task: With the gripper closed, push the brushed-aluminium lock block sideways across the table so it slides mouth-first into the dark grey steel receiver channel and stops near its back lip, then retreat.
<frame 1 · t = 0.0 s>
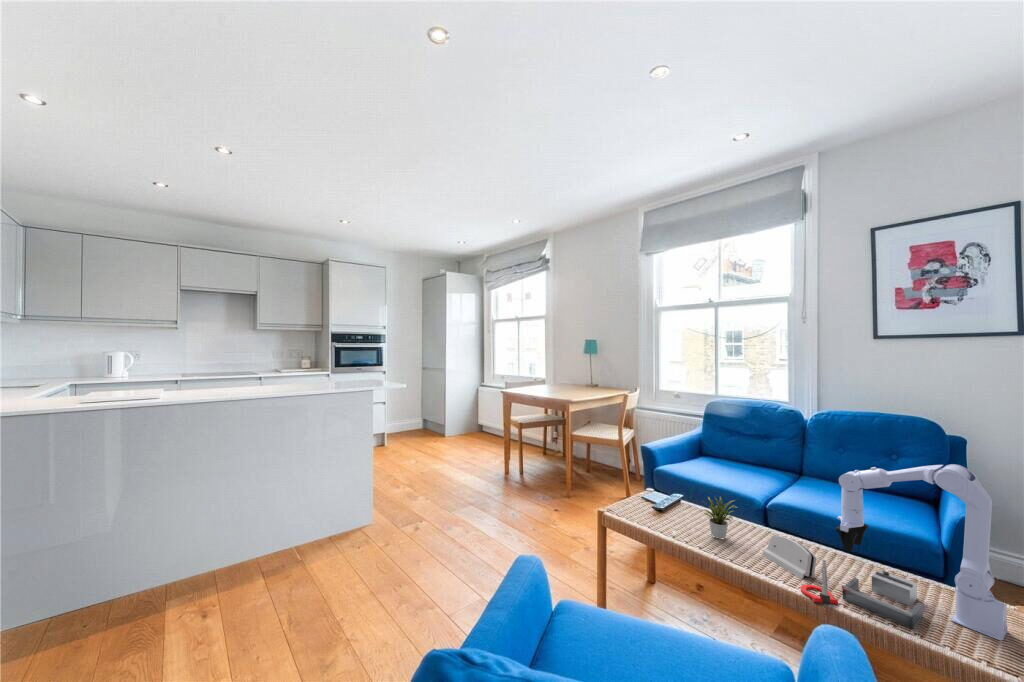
hand: (852, 547, 139), 10 cm above the table, fingers open, 7 cm apart
house plant: (722, 537, 167), on the table
receiver channel: (881, 607, 123), on the table
lock block: (894, 595, 129), on the table
red handled scissors: (817, 596, 129), on the table
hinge: (789, 566, 146), on the table
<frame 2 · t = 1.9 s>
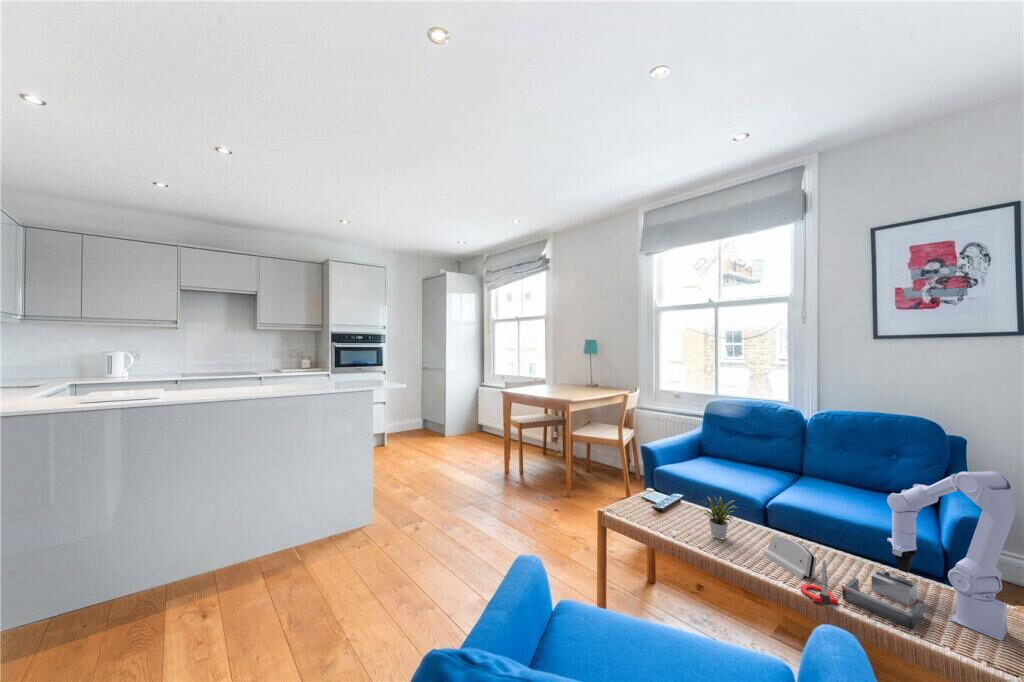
hand: (903, 570, 135), 4 cm above the table, fingers closed
nothing on the table moved.
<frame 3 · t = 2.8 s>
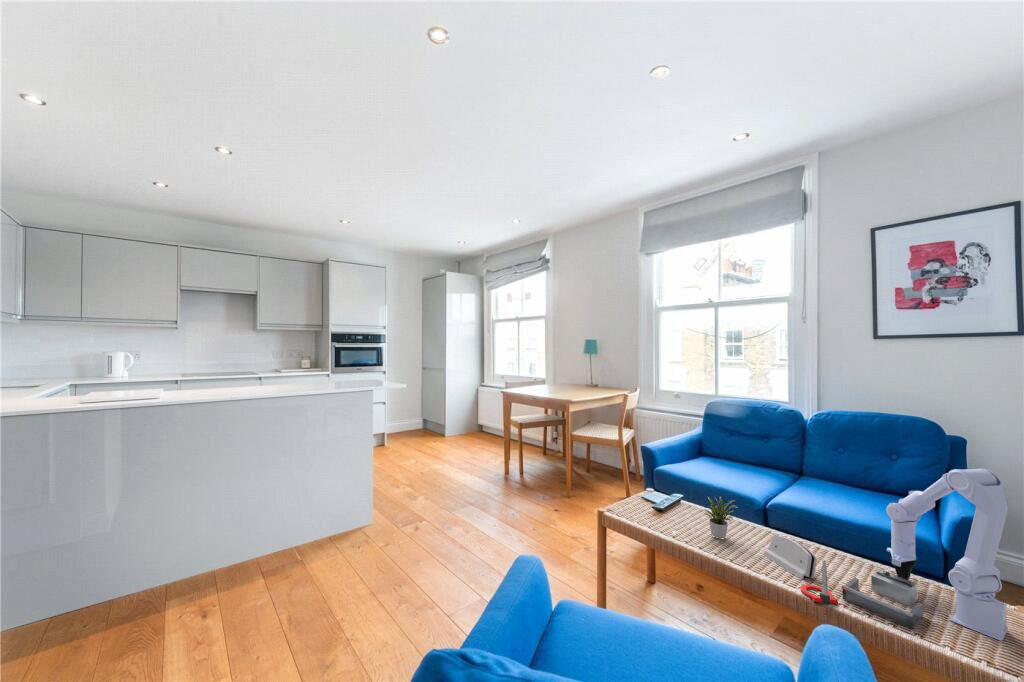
hand: (903, 581, 134), 1 cm above the table, fingers closed
nothing on the table moved.
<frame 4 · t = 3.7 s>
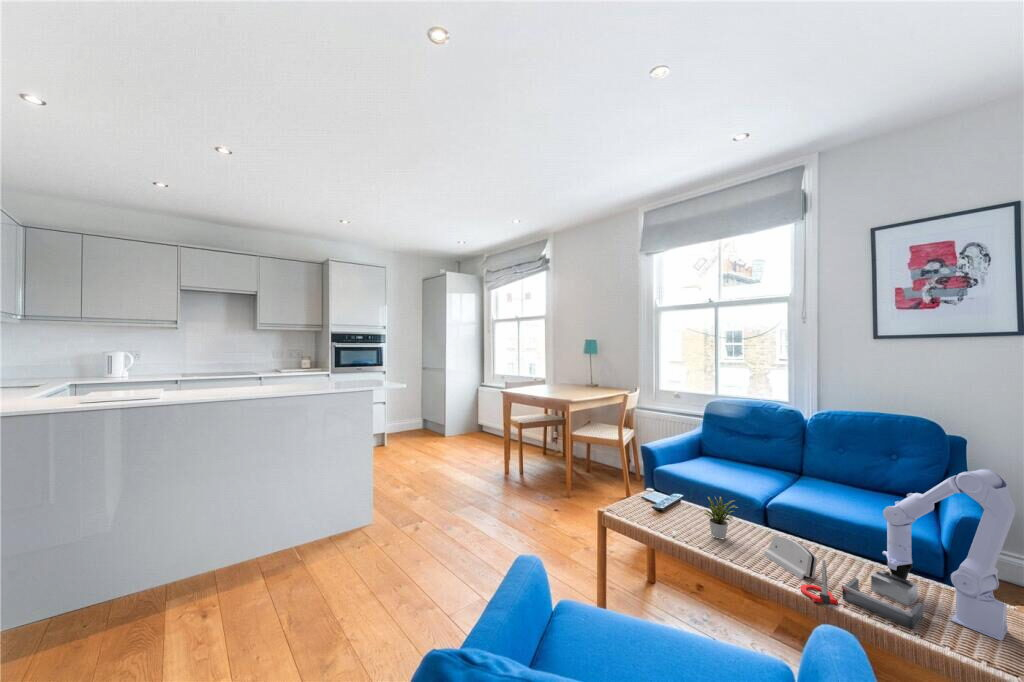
hand: (899, 584, 132), 1 cm above the table, fingers closed
lock block: (894, 595, 129), on the table, touching gripper
everything else where it was.
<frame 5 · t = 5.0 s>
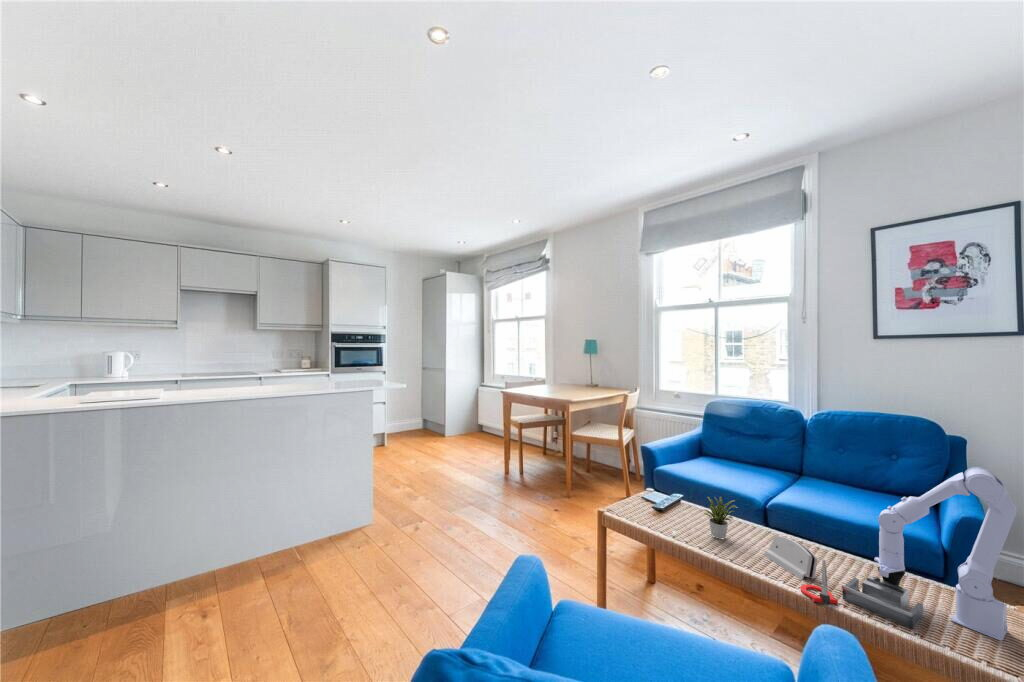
hand: (891, 592, 128), 1 cm above the table, fingers closed
lock block: (884, 602, 125), on the table, touching gripper
everything else where it was.
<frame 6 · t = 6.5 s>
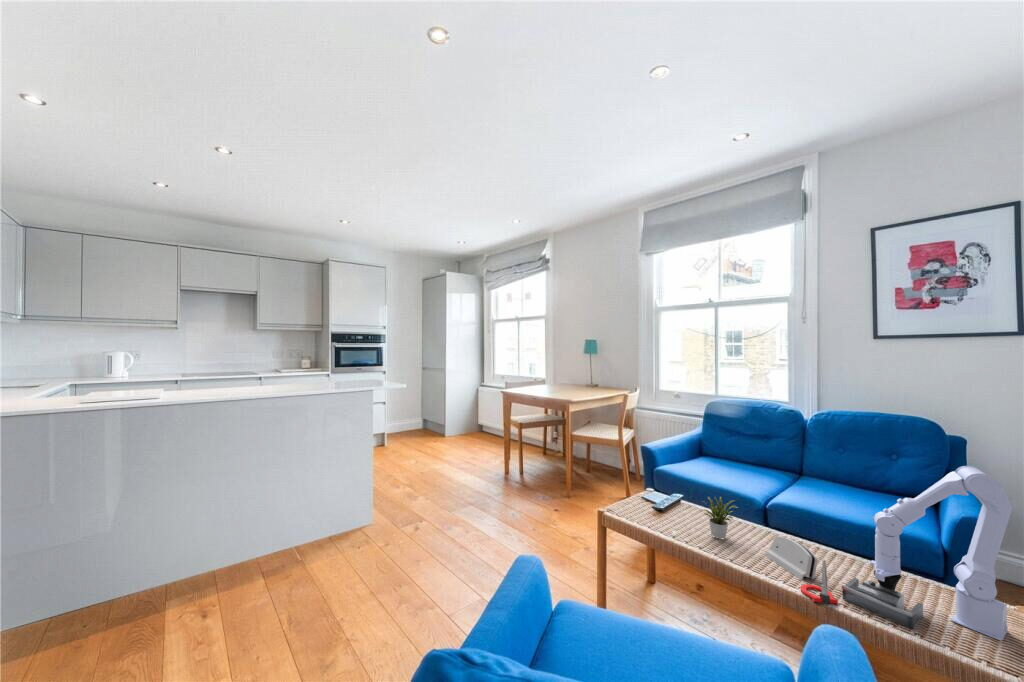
hand: (887, 596, 126), 1 cm above the table, fingers closed
lock block: (880, 607, 123), on the table
everything else where it was.
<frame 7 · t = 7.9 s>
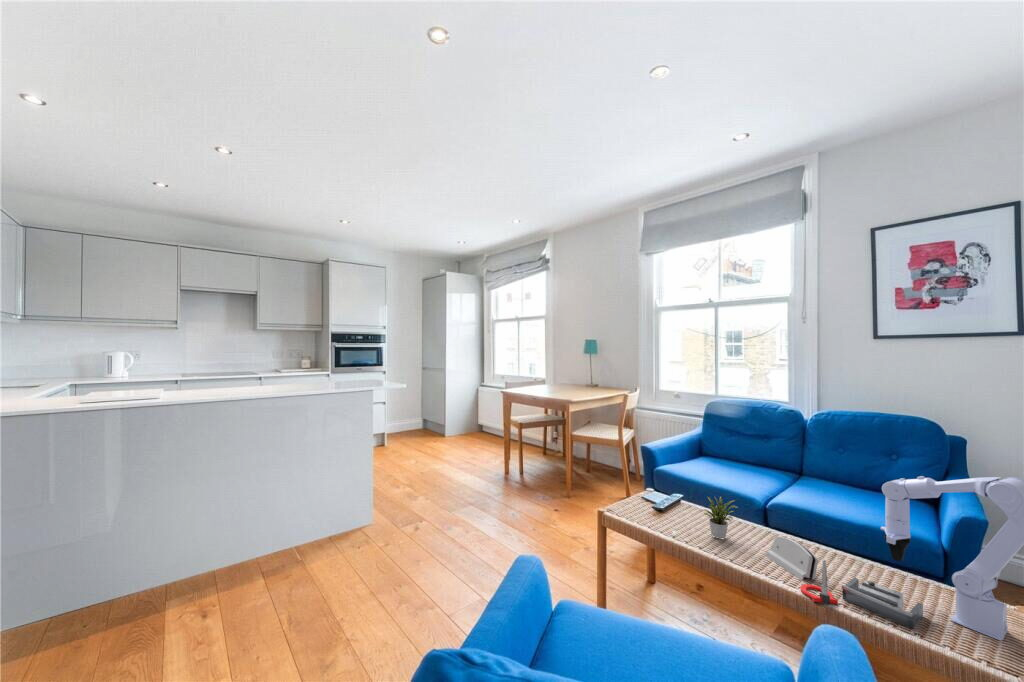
hand: (897, 559, 131), 10 cm above the table, fingers closed
nothing on the table moved.
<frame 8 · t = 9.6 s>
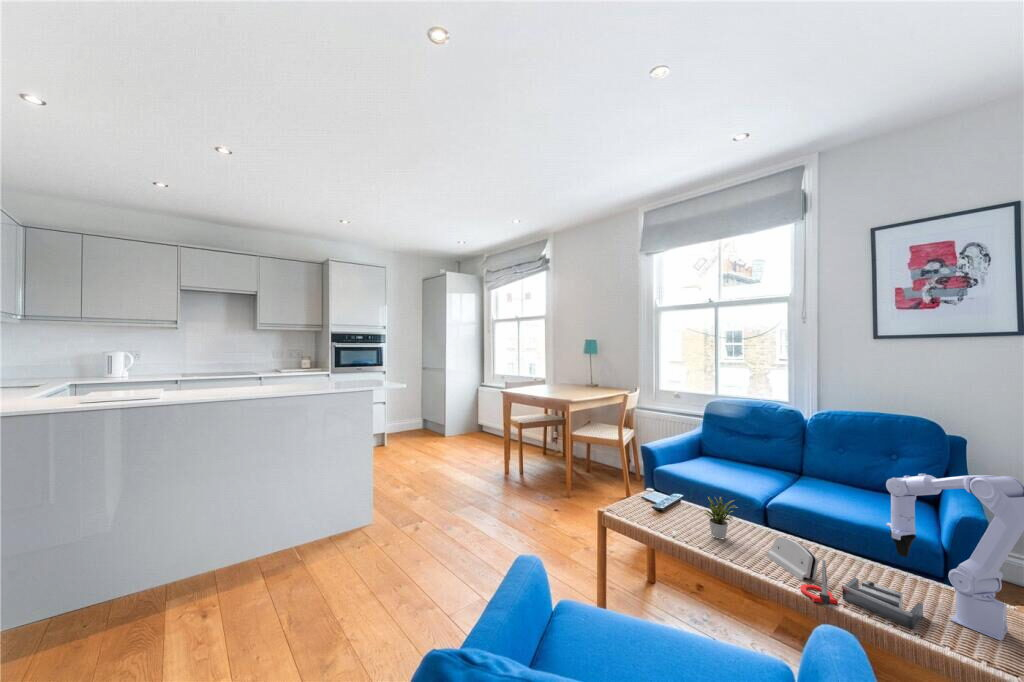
hand: (902, 555, 134), 10 cm above the table, fingers closed
at the end: lock block inside the target area (0.8 cm from its centre), on the table; lock block moved 11.2 cm from its start; lock block tilted 0° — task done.
